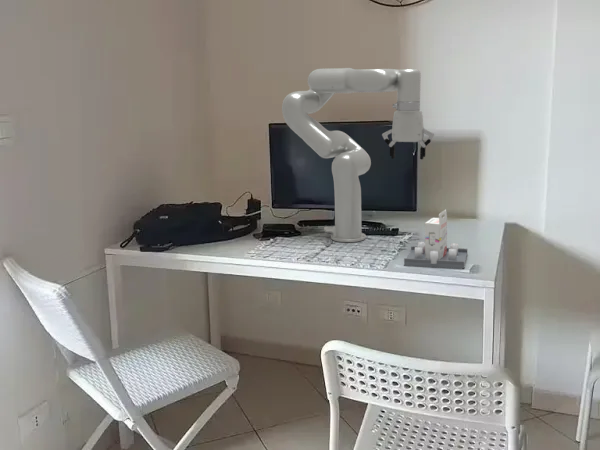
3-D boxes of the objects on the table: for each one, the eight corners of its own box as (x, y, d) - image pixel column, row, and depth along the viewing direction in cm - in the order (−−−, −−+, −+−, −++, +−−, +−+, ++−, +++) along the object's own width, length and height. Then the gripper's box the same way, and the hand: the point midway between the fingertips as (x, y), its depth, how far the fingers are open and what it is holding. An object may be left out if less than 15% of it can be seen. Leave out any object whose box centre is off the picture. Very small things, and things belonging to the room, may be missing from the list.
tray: (404, 266, 204) (404, 251, 203) (411, 252, 220) (411, 238, 219) (463, 269, 199) (464, 254, 198) (467, 254, 214) (467, 240, 213)
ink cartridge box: (431, 252, 214) (432, 208, 211) (447, 253, 212) (447, 208, 209) (424, 259, 207) (424, 213, 203) (439, 260, 204) (440, 214, 201)
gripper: (380, 107, 218) (379, 159, 222) (433, 107, 213) (432, 160, 217) (384, 106, 225) (384, 156, 229) (436, 106, 220) (434, 157, 224)
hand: (407, 158), depth 223 cm, fingers open, 9 cm apart
